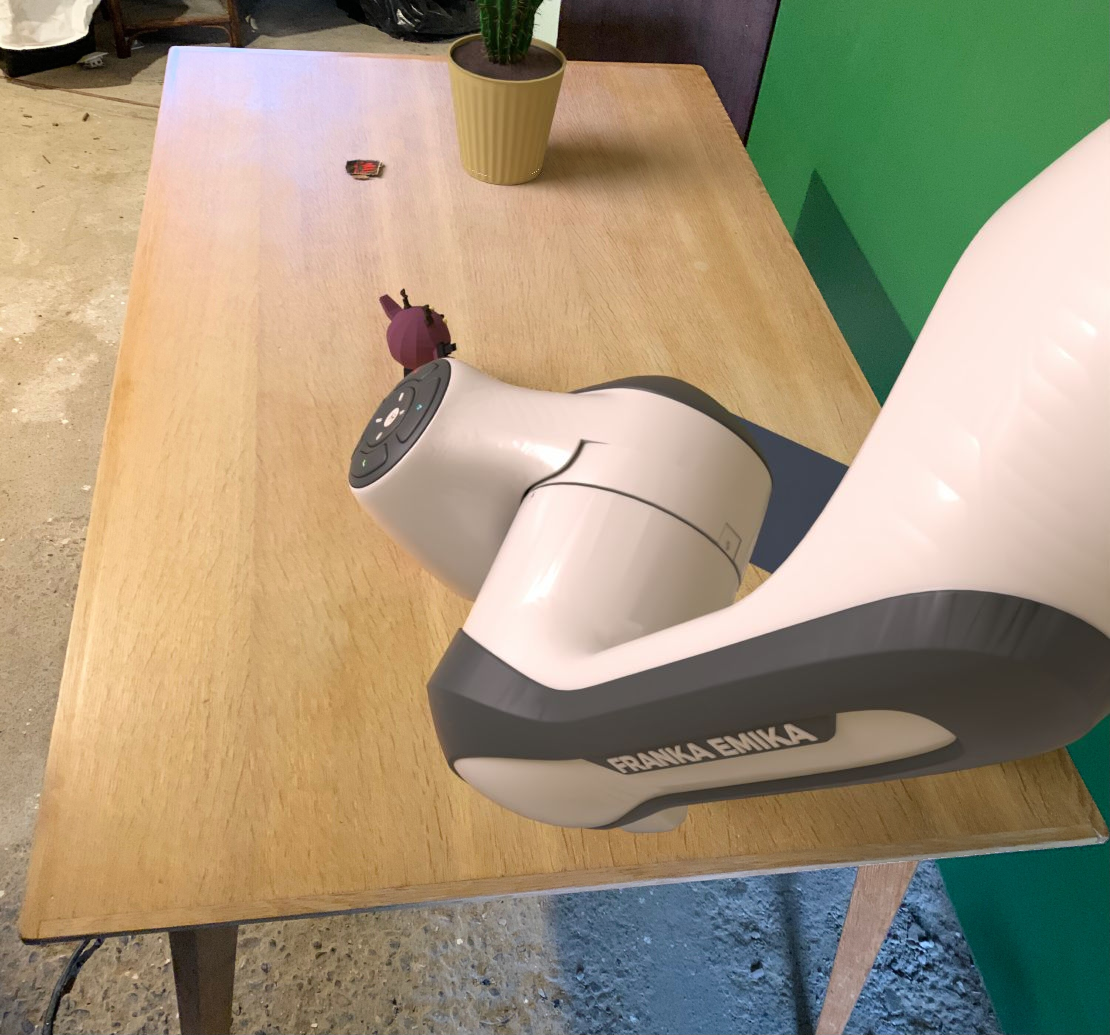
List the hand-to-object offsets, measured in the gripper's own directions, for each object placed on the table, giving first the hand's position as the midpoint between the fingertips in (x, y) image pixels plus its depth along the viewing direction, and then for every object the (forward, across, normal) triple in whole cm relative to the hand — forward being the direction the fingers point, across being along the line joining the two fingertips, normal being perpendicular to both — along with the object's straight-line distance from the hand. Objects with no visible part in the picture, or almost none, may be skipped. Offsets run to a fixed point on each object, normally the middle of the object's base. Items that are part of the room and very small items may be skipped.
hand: (711, 702), depth 59 cm
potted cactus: (+2, +88, +40) cm, 97 cm away
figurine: (-3, +38, +35) cm, 52 cm away
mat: (+18, +33, +8) cm, 38 cm away
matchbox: (-10, +80, +53) cm, 97 cm away
